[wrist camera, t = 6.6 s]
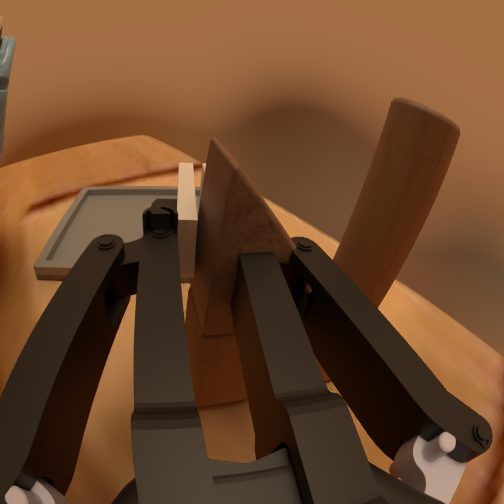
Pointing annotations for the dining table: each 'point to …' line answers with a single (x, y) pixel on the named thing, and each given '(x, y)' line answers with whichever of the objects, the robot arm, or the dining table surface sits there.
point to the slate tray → (99, 223)
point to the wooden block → (276, 239)
